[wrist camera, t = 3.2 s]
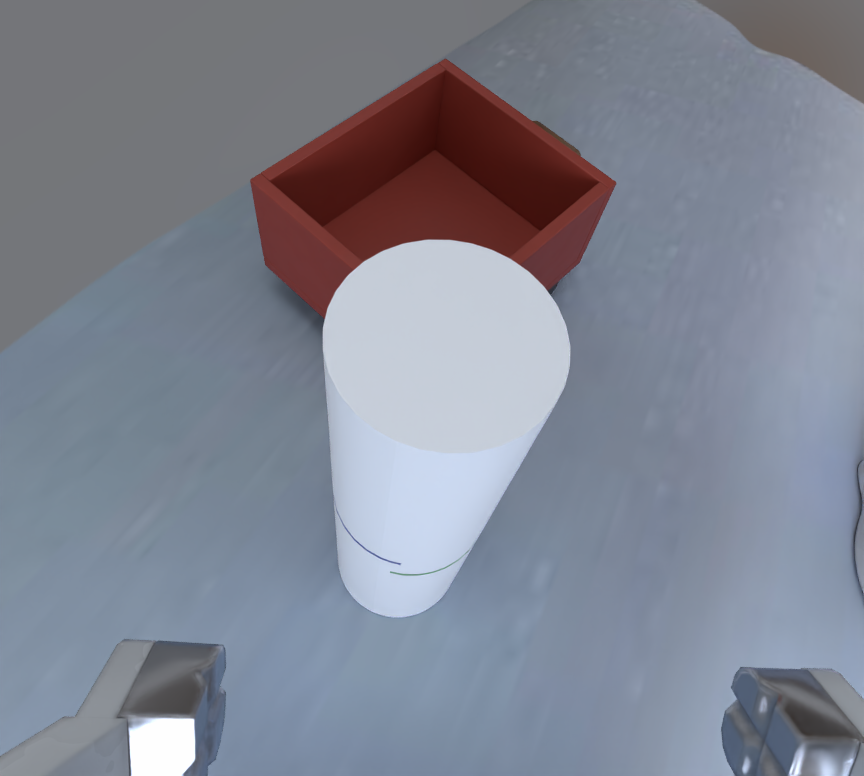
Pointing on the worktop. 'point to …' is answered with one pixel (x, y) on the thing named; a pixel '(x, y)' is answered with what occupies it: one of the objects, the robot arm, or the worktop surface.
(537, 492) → the worktop surface
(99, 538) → the worktop surface
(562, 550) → the worktop surface
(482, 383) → the cylindrical container
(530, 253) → the toy cart
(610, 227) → the worktop surface
